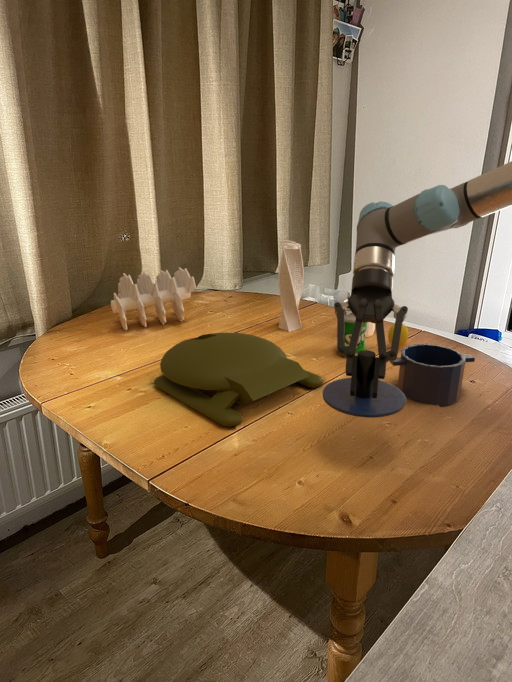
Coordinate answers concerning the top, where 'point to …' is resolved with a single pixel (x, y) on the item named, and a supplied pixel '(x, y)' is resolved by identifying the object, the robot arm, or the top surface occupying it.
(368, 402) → the lid
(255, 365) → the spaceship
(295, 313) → the skyscraper
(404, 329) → the lemon
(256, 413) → the top surface
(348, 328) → the soda can
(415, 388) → the pot
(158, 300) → the spiky fin rack
